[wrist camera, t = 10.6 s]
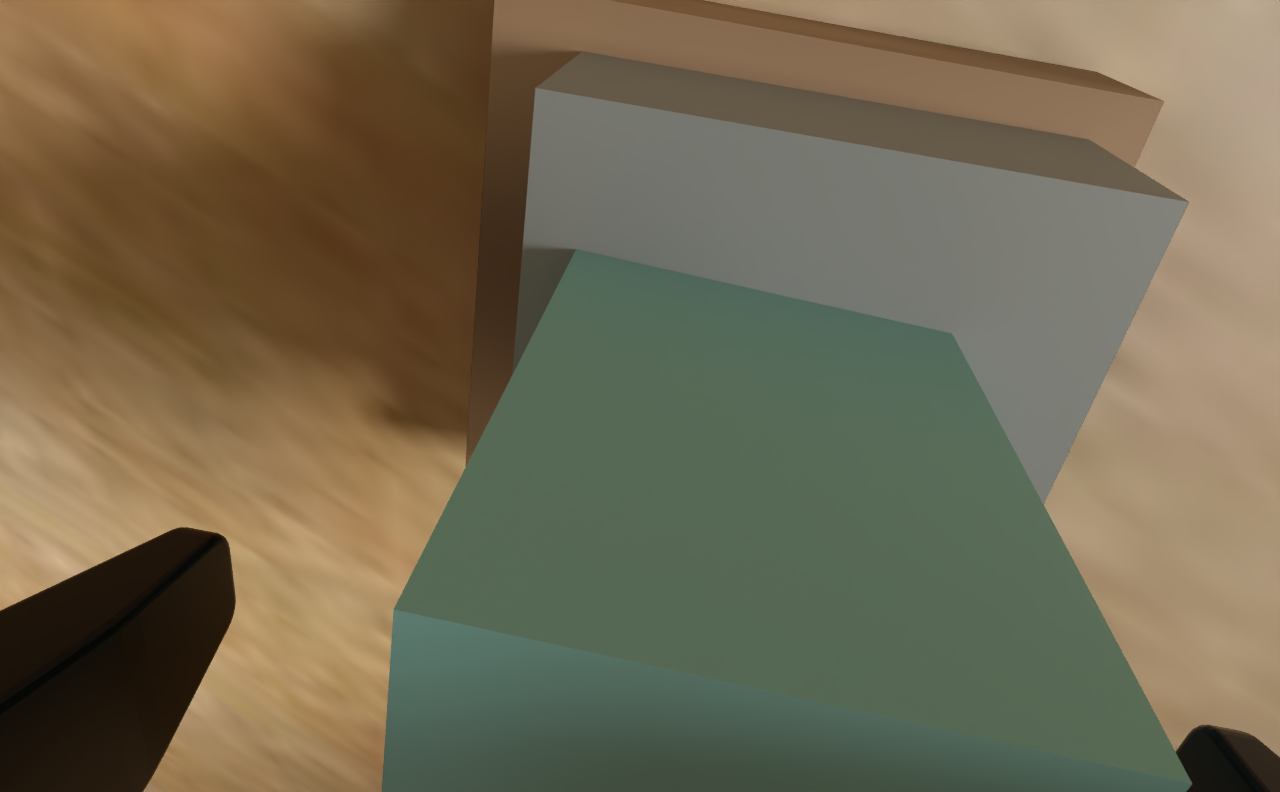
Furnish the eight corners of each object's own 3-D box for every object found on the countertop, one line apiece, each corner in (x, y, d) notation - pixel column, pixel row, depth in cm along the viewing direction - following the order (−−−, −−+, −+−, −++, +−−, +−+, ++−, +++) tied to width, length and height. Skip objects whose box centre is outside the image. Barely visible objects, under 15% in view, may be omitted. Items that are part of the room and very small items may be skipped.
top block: (927, 537, 15) (965, 667, 12) (539, 465, 15) (496, 577, 13) (1088, 138, 11) (1189, 202, 9) (582, 50, 12) (536, 87, 9)
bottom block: (911, 504, 18) (939, 601, 16) (503, 425, 18) (462, 507, 16) (1085, 67, 14) (1163, 101, 11) (543, -32, 14) (495, -21, 11)
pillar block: (835, 612, 12) (909, 1129, 7) (527, 544, 12) (368, 1014, 7) (952, 332, 10) (1191, 784, 5) (576, 249, 10) (394, 609, 5)
